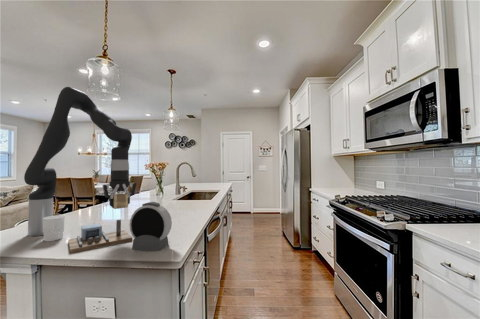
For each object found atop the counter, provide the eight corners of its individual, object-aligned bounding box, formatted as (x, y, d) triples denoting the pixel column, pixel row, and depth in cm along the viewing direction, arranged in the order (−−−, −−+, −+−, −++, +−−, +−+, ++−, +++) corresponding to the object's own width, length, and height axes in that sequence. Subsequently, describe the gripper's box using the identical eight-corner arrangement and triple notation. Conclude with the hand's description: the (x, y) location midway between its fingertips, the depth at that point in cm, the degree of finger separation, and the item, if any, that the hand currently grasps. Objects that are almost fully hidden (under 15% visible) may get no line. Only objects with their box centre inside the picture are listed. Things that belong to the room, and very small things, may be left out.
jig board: (68, 243, 97) (68, 223, 97) (124, 233, 111) (124, 216, 111) (70, 253, 85) (70, 230, 85) (132, 240, 99) (132, 221, 99)
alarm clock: (124, 250, 88) (125, 203, 89) (139, 241, 98) (140, 200, 99) (163, 252, 86) (163, 204, 86) (174, 243, 96) (174, 200, 97)
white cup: (51, 242, 98) (52, 219, 98) (37, 241, 99) (37, 218, 99) (68, 236, 105) (69, 215, 106) (55, 235, 107) (55, 214, 107)
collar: (111, 207, 104) (111, 194, 104) (124, 205, 107) (125, 193, 108) (114, 209, 99) (114, 195, 100) (128, 207, 103) (128, 194, 103)
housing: (81, 237, 99) (81, 226, 99) (99, 234, 104) (99, 223, 104) (82, 240, 94) (82, 229, 95) (101, 237, 99) (101, 226, 99)
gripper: (134, 169, 111) (134, 203, 111) (100, 169, 102) (100, 206, 102) (138, 169, 106) (138, 205, 105) (103, 169, 96) (103, 209, 96)
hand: (119, 205), depth 103 cm, fingers closed on collar, 5 cm apart
